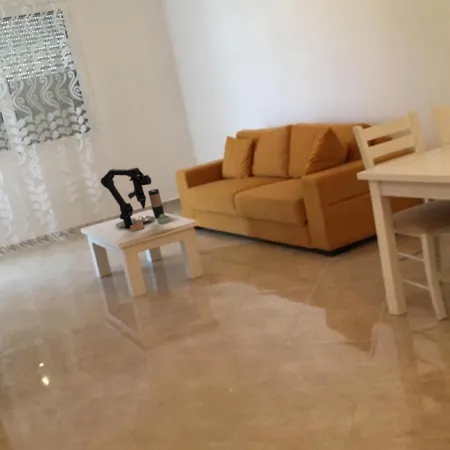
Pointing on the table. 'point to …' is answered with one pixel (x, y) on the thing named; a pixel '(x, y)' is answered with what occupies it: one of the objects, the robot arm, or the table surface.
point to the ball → (162, 216)
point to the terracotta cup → (136, 226)
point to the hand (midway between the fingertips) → (143, 207)
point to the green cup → (163, 220)
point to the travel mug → (156, 203)
